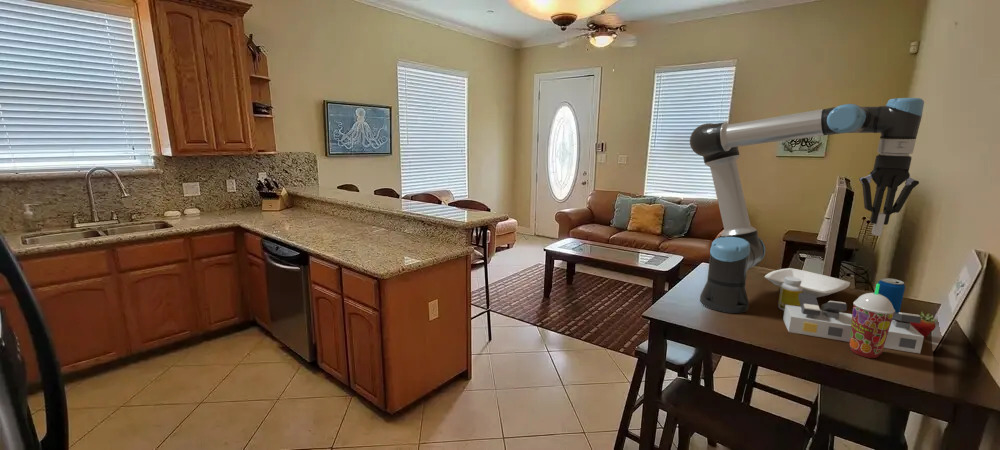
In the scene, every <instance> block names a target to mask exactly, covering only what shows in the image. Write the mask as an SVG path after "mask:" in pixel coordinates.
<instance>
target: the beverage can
mask: <svg viewBox="0 0 1000 450" xmlns="http://www.w3.org/2000/svg"><path fill="white" fill-rule="evenodd" d="M877 284H880V286H879V291H878V294H881V295H883V296H885V297H886V298H888V299H889V301H890V302H891V303H892V305H893V308H894V309H895V313H899V312H901V308H902V307H901V306H902V304H903V298H904V293H905V289H906V286H905V282H904V281H902V280H900V279H896V278H890V277H889V278H888V277H882V278H880V280H879V281H878V283H877Z"/></svg>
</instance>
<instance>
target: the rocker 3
mask: <svg viewBox="0 0 1000 450" xmlns="http://www.w3.org/2000/svg"><path fill="white" fill-rule="evenodd" d="M920 316H921V315H920V314H917V315H916V314H914V313H907V312H901V311H900V312H899V313H895V312H894V315H893V318H892V320H898V321H905V322H909V323H910V322H913V323H921V317H920Z"/></svg>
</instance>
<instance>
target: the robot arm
mask: <svg viewBox="0 0 1000 450" xmlns="http://www.w3.org/2000/svg"><path fill="white" fill-rule="evenodd" d="M924 104H925V101H924V100H923V98H920V97H900V98H899V97H898V98H890V99H889V100H888V101H887V103H886V105H879V106H859V105H858V104H855V103H854V104H853V103H845V104H840V105H837V106H835V107H829V108H822V109H821V108H820V109H815V110H810V111H804V112H799V113H798V112H797V113H793V114H792V113H791V114H785V115H780V116H775V117H774V116H773V117H767V118H763V119H761V118H760V119H756V120H755V119H754V120H749V121H743V122H737V123H729V122H728V121H724V122H717V123H712V122H711V123H710V122H707V123H703V124H701V125H698V126H697V127H695V129H694V130H693V131H692V132H691V135H690V136H689V137H690V138H689V145H690V148H691V150H692V151H693V152H694V154H696V155H698V156H701V157H703V158H702V159H703V161H704V165H706V166H707V167H709V169H710V173H711V177H712V182H713V185H714V190H715V195H716V199H717V203H718V206H719V212H720V216H721V221H722V225H723V231H722V233H721V234H720V237H717V238H715V239H714V240H713V241H712V242H711V246H710V249H709V252H710V253H709V262H708V270H707V271H708V272H707V273H708V274H707V281H706V283H705V285H704V287H703V289H702V290H701V293H700V294H699V295H700V296H699V302H701V303H702V304H703V305H702V304H701V305H702V306H704V305H705V306H704V307H706V306H707V307H706V308H708V307H709V308H708V309H710V308H711V310H713V309H714V311H716V310H718V311H717V312H721V311H722V313H729V314H741V313H745V312H747V311H748V310H749V306H750V305H749V304H750V303H749V299H748V294H747V289H746V281H747V273H748V270H750V269H752V268H753V267H756V266H758V265H759V264H760V263H761V261H762V260H763V259H764V257H765V254H766V246H765V244H764V241H763V240H762V239H761V238H759V234H758V229H757V228H755V227H753V226H752V225H751V221H750V217H749V212H748V208H747V204H746V200H745V199H746V198H745V193H744V190H743V186H742V182H741V178H740V177H741V176H740V173H739V169H738V164H737V161H738V159H739V158H740V156H741V155H740V152H739V147H745V146H752V145H753V146H754V145H761V144H768V143H777V142H784V141H791V140H800V139H808V138H815V137H816V138H817V137H824V136H833V135H840V134H868V133H871V134H880V136H879V142H878V144H877V145H878V146H877V150H876V152H877V153H878V154H877V155H876V156H875V160H874V164H873V168H872V170H871V171H870V173H869V175H866V176H864V177H863V176H861V177H859V182H860V184H861V185H862V194H863V205H864V209H865V210H867V211H869V212H871V215H870V218H869V222H870V223H871V224H873V226H872V228H871V234H872V235H873V236H878V237H881V236H882V233H883V228H884V225H885V226H887V225H888V224H889V220H890V216H891V215H892V214H899V213H900V211H901V210H902V208H903V206H904V205H905V203H906V202H907V199H908V198H909V197H910V194H911V193H912V191H913V189H915V188H916V186H918V185H919V184H920V181H919V180H915V179H914V178H913V177H911V174H910V172H909V171H910V167H911V164H912V163H911V162H912V158H913V157H912V156H911V155H913V153H914V149H915V145H916V141H917V136H918V133H919V128H920V124H921V121H922V119H923V118H922V117H923V112H924ZM872 181H873V182H874V183H875V189H876V190H875V193H874V199H873V200H872V191H871V190H872V189H871V182H872ZM903 183H904V186H903V187H902V189H901V191H900V192H899V193H900V194H898V197H897V198H896V194H897V192H898V187H899V186H901V185H902V184H903ZM886 190H887V191H886ZM885 191H886V196H885V200H884V203H883V198H884V195H885V194H884V193H885ZM895 198H896V200H895ZM872 201H873V202H872ZM882 203H883V209H882V212H880V211H881V207H882ZM870 223H869V224H870Z"/></svg>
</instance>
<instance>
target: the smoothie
mask: <svg viewBox="0 0 1000 450" xmlns="http://www.w3.org/2000/svg"><path fill="white" fill-rule="evenodd" d="M879 286H880V284H878V283H876V285H875V290H874V292H867V293H863V294H861V295H859V296H858V298H856V299H855V300H854V301H853V302H852V303H853V306H852V313H851V314H852V322H851V332H850V342H848V344H849V347H850V350H851V351H852V352H853V353H854V354H855V355H858V356H861V357H864V358H869V359H877V358H878V357H879V356H880V355H882V354H883V351H884V349H885V348H884V344H885V341H886V338H887V335H888V331H889V328H890V325H891V322H892V320H893V319H892V318H893V315H894V312H895V309H894V308H893V305H892V303H891V302H890V301H889V299H888V298H886V297H885V296H883V295H881V294H878V291H879Z"/></svg>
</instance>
